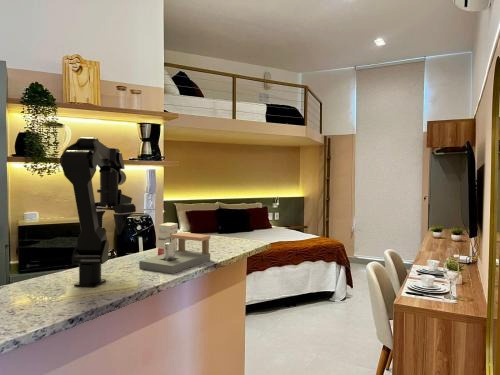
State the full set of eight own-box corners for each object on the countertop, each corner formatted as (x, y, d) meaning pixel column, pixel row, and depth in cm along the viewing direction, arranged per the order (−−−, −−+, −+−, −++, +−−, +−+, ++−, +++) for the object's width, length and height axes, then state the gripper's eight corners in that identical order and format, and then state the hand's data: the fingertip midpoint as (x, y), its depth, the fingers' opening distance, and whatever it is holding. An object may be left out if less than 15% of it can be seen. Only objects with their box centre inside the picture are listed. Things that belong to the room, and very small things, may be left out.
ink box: (169, 255, 146) (169, 225, 145) (157, 255, 147) (157, 225, 146) (178, 251, 154) (178, 222, 154) (166, 250, 155) (166, 222, 155)
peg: (172, 267, 127) (172, 244, 127) (162, 267, 128) (162, 244, 127) (176, 265, 131) (176, 242, 130) (166, 264, 131) (166, 242, 131)
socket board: (172, 273, 120) (172, 245, 119) (139, 268, 126) (139, 241, 126) (210, 260, 139) (210, 235, 139) (180, 255, 146) (180, 232, 145)
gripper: (147, 186, 127) (147, 232, 127) (108, 185, 136) (108, 228, 136) (122, 187, 117) (122, 236, 118) (82, 185, 126) (82, 232, 126)
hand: (109, 233), depth 125 cm, fingers open, 9 cm apart
